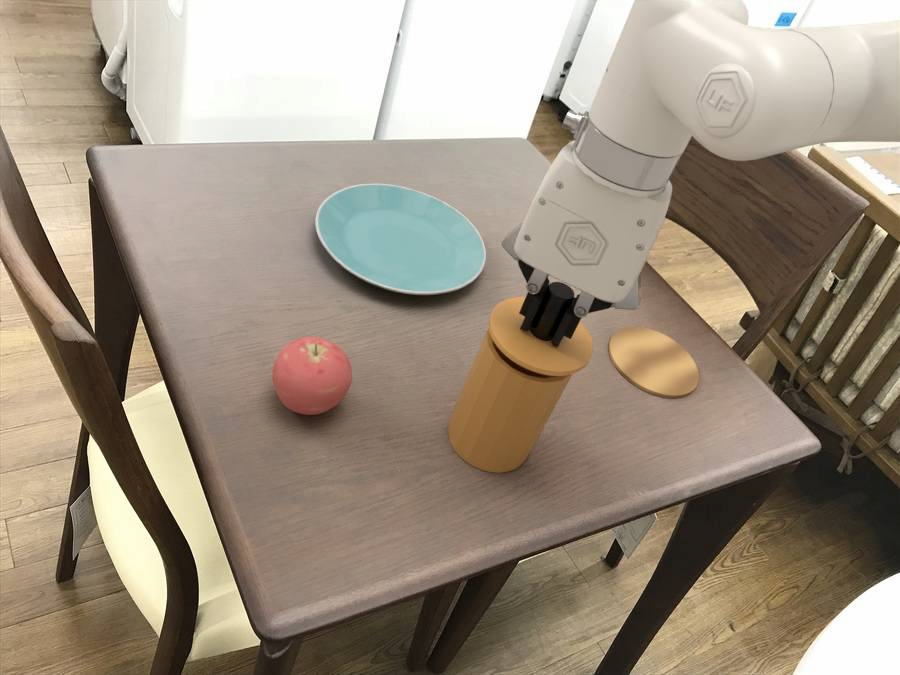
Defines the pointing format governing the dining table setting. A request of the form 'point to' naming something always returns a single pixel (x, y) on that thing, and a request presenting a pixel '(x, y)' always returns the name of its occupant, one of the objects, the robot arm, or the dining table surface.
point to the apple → (311, 375)
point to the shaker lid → (541, 334)
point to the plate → (400, 239)
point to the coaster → (653, 362)
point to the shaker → (501, 410)
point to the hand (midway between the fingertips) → (543, 329)
